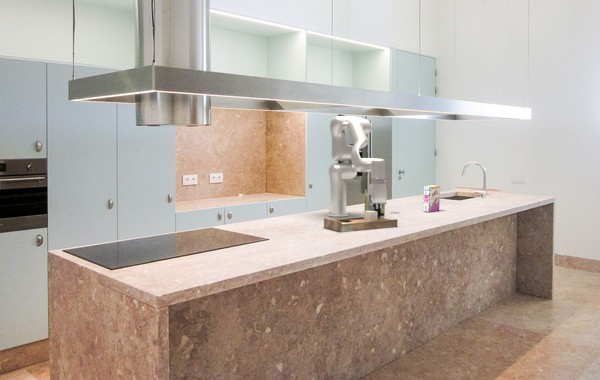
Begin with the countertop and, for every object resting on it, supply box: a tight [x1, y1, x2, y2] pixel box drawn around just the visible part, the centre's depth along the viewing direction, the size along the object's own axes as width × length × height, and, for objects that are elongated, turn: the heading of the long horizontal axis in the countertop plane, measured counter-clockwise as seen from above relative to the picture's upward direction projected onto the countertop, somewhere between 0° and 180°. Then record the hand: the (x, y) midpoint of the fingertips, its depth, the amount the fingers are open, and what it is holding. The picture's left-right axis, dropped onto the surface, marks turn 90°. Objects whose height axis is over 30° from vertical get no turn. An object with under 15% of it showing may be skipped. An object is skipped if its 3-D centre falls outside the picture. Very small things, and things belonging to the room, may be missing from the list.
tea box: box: [364, 193, 386, 219], centre depth 292 cm, size 15×10×15 cm, turn 179°
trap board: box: [323, 216, 398, 233], centre depth 268 cm, size 16×35×5 cm, turn 117°
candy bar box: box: [422, 185, 441, 213], centre depth 329 cm, size 11×5×16 cm, turn 130°
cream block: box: [363, 210, 377, 221], centre depth 274 cm, size 5×5×4 cm
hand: (377, 215), depth 277 cm, fingers closed
